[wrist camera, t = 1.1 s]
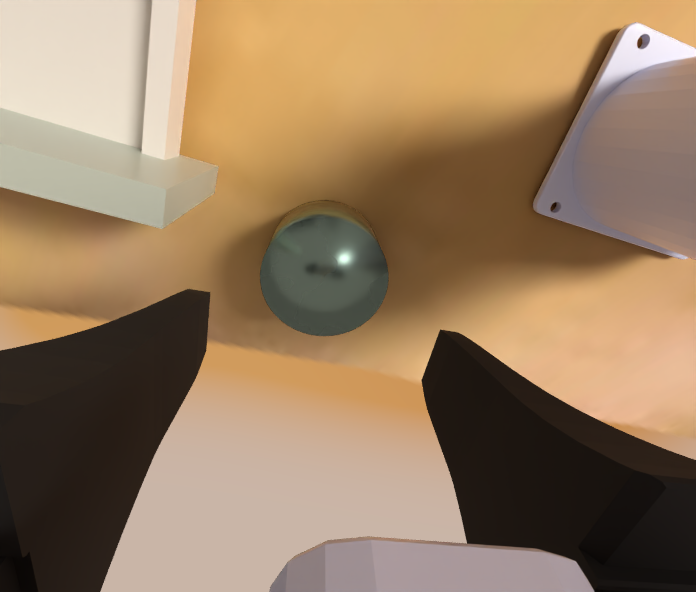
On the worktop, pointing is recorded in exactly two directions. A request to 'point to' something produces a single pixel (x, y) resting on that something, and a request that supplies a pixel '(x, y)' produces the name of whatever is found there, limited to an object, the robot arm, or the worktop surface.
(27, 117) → the drawer tray
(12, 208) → the worktop surface
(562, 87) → the worktop surface
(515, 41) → the worktop surface
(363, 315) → the tin
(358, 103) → the worktop surface
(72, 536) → the robot arm
